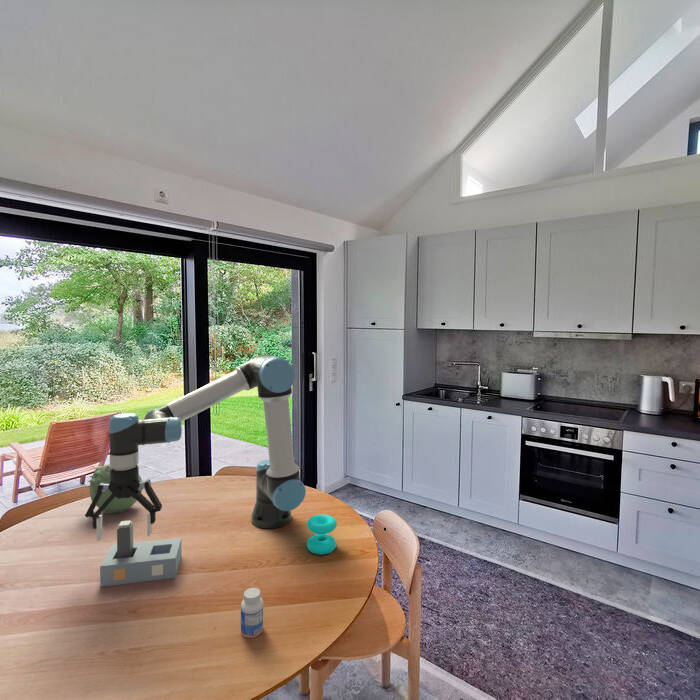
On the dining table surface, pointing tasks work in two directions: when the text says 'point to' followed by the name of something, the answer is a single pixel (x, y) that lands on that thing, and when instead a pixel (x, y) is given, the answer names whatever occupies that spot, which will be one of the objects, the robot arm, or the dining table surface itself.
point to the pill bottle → (252, 613)
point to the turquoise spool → (321, 534)
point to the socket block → (142, 563)
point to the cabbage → (116, 504)
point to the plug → (125, 539)
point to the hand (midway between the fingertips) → (125, 536)
